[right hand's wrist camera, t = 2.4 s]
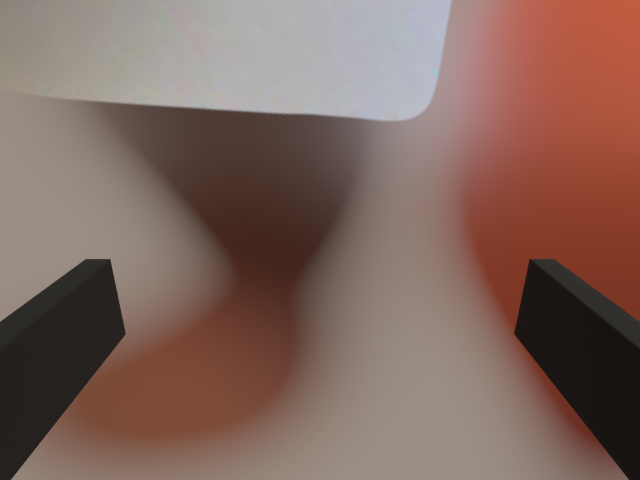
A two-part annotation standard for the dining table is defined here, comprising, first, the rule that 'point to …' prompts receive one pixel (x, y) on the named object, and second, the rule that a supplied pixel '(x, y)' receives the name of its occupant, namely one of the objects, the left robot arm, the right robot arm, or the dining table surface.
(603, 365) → the right robot arm
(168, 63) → the dining table surface
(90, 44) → the dining table surface
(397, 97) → the dining table surface
